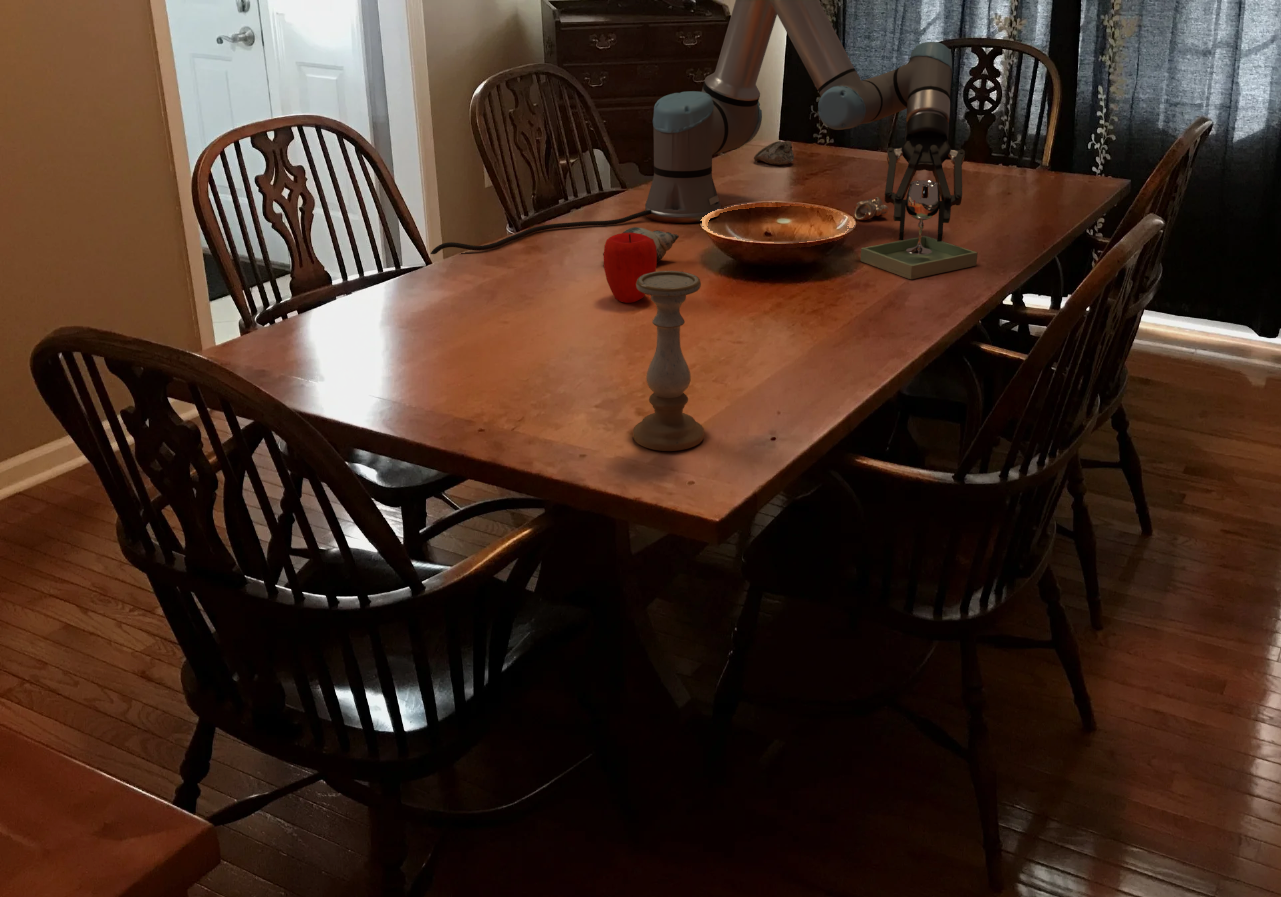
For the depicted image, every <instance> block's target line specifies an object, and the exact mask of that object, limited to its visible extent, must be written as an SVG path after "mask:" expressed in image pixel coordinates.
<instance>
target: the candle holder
mask: <svg viewBox="0 0 1281 897" xmlns="http://www.w3.org/2000/svg"><path fill="white" fill-rule="evenodd" d="M636 287H637V289H638V290H639V291H640V292H642V293H644V294H645V295H648V296H650V300H651V302H653V304H654V305H655V307H656V314H655V316H654V318H653V319H652V324H653V326H654V327H656V347H655V351H654V354H653V356H652V359H651V361H650V363H649V365H648V367H647V371H646V375H645V380H646V384H647V386H648V388H649V389H650V390H651V392H652V393H651V395H649V398H648V402H649V403H650V405H651V406H652V408H653V410H654V412H653V413H650V414H648V415H646V416H645V417H643V418H642V420H641V421H639V422H637V423H636V425H635V426H634V427H633V430H632V435H633V436H632V437H633V439H634V441H635V442H636V443H637V445H639V446H642V447H643V448H646V449H648V450H654V451H659V452H660V451H662V452H677V451H684V450H689V449H691V448H694V447H696V446H698V445H700V444H701V443H702V442H703V440H704V438H705V428H704V427H703V425H702V424H701V423H700V422H698V421H696V420H695V418H694V417H693V416H691V415H689V414H687V413H684V408H685V406H686V405H687V404H688V403H689V397H688V395H687V394H686V393H685V392H686V390H687V389H688V388H689V386H690V384H691V381H692V373H691V370H690V367H689V364H688V363H687V360H686V359H685V356H684V353H683V351H682V347H681V345H682V344H681V327H682V326H683V325H684V324H685V322H686V321H685V319H684V317H683V316H682V314H681V307H682V304H683V303H684V302H686V300H687V296H689V295H692V294H694V293H696V292H698V291H699V290H700V289H701V287H702V283H701V279H700V277H698V276H697V275H695V274H694V273H690V272H686V271H682V270H681V271H680V270H657V271H656V272H651V273H647V274H644V275H642V276H640V277H639V278H638V279H637V282H636Z"/></svg>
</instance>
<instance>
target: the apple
mask: <svg viewBox="0 0 1281 897" xmlns="http://www.w3.org/2000/svg"><path fill="white" fill-rule="evenodd" d="M603 253H604V256H603V269H604V274H605V279H606V282H607V284H608V287H609V289H610V291H611V293H612V295H613V297H614V299H616V300H617V301H619V302H621V303H624V304H632V303H636V302H638V301H640V300H641V299H643V298H644V297H645V296H646V294H644V293H642V292H640V291H639V290H638V289H637V287H636V282H637V279H638V278H639V277H640V276H642V275H644V274H647V273H651V272H657V271H656V270H657V266H658V265H657V263H658V262H657V251H656V245H655V242H654V240H653V239H651V238H649V237H647V236H645V235H642V234H638V233H623V232H621V233H617V234H614V235H611V236H610V237H608V238H607V239H606V240H605V244H604V247H603Z"/></svg>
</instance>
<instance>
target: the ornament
mask: <svg viewBox="0 0 1281 897" xmlns="http://www.w3.org/2000/svg"><path fill="white" fill-rule="evenodd" d="M853 215H854V217H855V219H856V220H857V221H868V220H871V219H872V218H873V217H875V216H876V217H879V216H880V215H881V216H888V215H889V207H888V205H885V204H884V202H883V200H882V199H881V198H880V197H879V196H875V199H873V198H869V199H864V200H860V201H858V202H856V203H855V209H854V214H853Z"/></svg>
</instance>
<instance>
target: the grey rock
mask: <svg viewBox="0 0 1281 897" xmlns="http://www.w3.org/2000/svg"><path fill="white" fill-rule="evenodd" d="M794 159H795V154H794V150H793V145H792V141H790V140H785V141H781V140H779V141H775V142H774V141H773V142H772V143H769V144H767V145H766V146H765V147H763V148H761V149H760V150H759V151H758V152H757V153H756V154H755V155H754V157H753V161H755V162H759V161H761V162H764V163H766V164H768V165H769V164H770V165H773V166H782V165H788V164H790V163H792V162H793V161H794Z"/></svg>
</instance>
